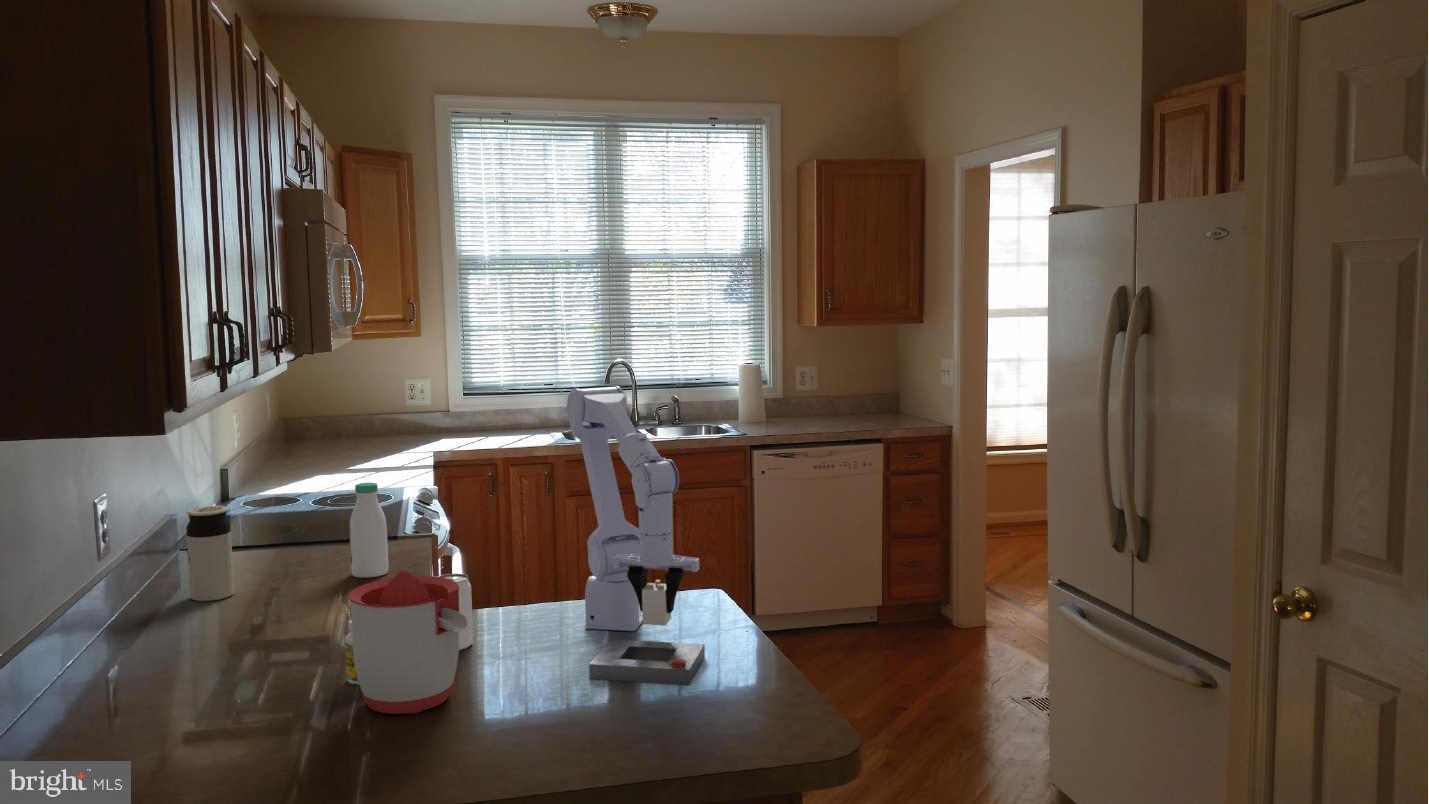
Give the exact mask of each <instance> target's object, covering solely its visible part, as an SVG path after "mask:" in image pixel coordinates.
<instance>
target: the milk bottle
mask: <svg viewBox="0 0 1429 804" xmlns="http://www.w3.org/2000/svg"><path fill="white" fill-rule="evenodd" d="M378 489H379V488H378V483H376V482H360V483H357V484H355V486H354V491H355V495H356V501H355V505H354V507H353V510H352V512H351V514H350V520H349V545H350V548H349V549H350V567H351V574H352V577H354V578H358V579H359V578H361V579H365V578H367V579H368V578H376V577H381V576H384V575H386V574H388V572H389V547H388V545H389V544H388V528H387V519H386V515H385V512H384V510H383V508H382V507H381V505H380V503H379V500H378V495H377V494H378Z"/></svg>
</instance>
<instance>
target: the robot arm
mask: <svg viewBox="0 0 1429 804" xmlns="http://www.w3.org/2000/svg"><path fill="white" fill-rule="evenodd" d="M566 400H567V403H566V413H567V418H568V422H569V427H570V430H571V433H572V437H574V438H576V439H578V440H579V442H580V446H581V449H582V450H581V451H582V456H583V459H584V464H585V465H584V466H585V468H586V469H585V470H586V474H587V479H588V483H589V488H590V492H591V498H592V501H593V506H594V511H595V515H596V520H597V525H598V526H597V527H596V529H595V530H594V531H593V532H592V533H591V535H589V537H588V538H587V541H586V544H587V552H588V553H587V562H588V567H589V570H590V572H591V573H592V575H590V576H589V577H588V579H587V581H586V584H585V592H584V602H585V603H584V606H585V607H584V608H585V625H584V629H587V630H588V629H589V630H604V631H605V630H607V631H609V630H610V631H626V632H627V631H628V632H635V631H637V629H638V628H639V627H640V626H641V624H643V617H642V615H641V614H640V612H642V589H643V588H644V587H645V586H646V585H647V584H648V572H649V569H650V570H667V572H666V573H665V574H664V579H665V580H664V581H665V584H666V588H667V613H671V614H672V612H673V611H674V609H675V601H676V596H677V593H678V591H679V587H680V584H681V582H682V580H683V578H684V575H685V573H686V571H688V572H689V571H690V572H692V573H697V572H698V571H699V570H700V558H699V557H692V556H685V555H683V556H682V555H678V554H677V555H676V554H674V526H673V525H674V524H673V522H674V521H673V517H674V516H673V515H674V514H673V513H674V512H673V509H674V508H673V507H674V505H673V494H676V492H677V491H678V489H679V484H680V475H679V474H680V473H679V470H678V468H677V466H676V464H675V462H674V461H673V460H672V459H667V458H666V457H662V456H661V455H660V454H659V452H658V451H657V449H656V448H655V446H654V445H653V443H652V442H651V441H650V439H649V438H648V436H647V435H646V434H644V433H642V432H638V431H637V430H636V428H635V426H634V424H633V423H632V421H631V419H630V416H629V415H628V413H627V408H628V407H627V397H626V393H625V391H624V390H623V388H621V387H620V386H618V385H613V386H607V387H605V386H604V387H592V388H591V387H590V388H572V389H571V390H570V392H569V394H568V396H567V399H566ZM611 436H613V437H614V438H615V440H616V441H617V442H618V443H619V445H618V450H617V451H618V455H619V456H620V458H621V460H622V462H623V463H624V464H625V466H626V467H627V469H628V470H629V472H630V474H631V475H632V476H631V484H632V485H631V486H632V488H633V492H634V497H635V499H634V500H635V502H634V503H635V505H636V506H637V507H638V527H637V526H635V525H633V524H632V523H630V522H629V521H627V520H626V518H625V513H624V508H623V505H622V498H621V494H620V490H619V487H618V485H619V484H618V482H617V477H616V472H615V468H614V463H613V460H612V454H611V451H610V447H609V446H610V445H609V442H608V440H609V438H610V437H611Z"/></svg>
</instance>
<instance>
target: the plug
mask: <svg viewBox="0 0 1429 804" xmlns="http://www.w3.org/2000/svg"><path fill="white" fill-rule="evenodd" d="M661 582H662V581H661V579H656V580H655V581H654V582H647V585H646V586H645V587H644V588H643V589H642V611H641V612H642V617H643V622H642V625H649V626H650V625H651V626H667V624H668V623H669V622H670V620H671V619H672V612H671V613H667V588H666V583H661Z"/></svg>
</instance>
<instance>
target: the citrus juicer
mask: <svg viewBox="0 0 1429 804" xmlns="http://www.w3.org/2000/svg"><path fill="white" fill-rule="evenodd" d="M348 601H350V612H351V613H350V614H351V619H352V640H353V656H354V665H355V670H356V674H357V678H358V681H359V684H360V685H359V687H360V690H361V694H362V696H363V698H364V700H365V702H366V704H367V706H368V707H369V708H370V709H371V710H373V711H375V712H379V713H383V714H389V715H390V714H391V715H398V714H399V715H402V714H410V715H417V714H420V713H422V712H423V711H426V710H430V709H432V708H434V707H437V706H440V705H441V704H442V703H444V702H445V701H446V700H447V699H449V696H450V693H451V691H452V689H453V686H454V683H455V676H456V673H457V667H458V662H459V661H458V660H459V654H460V652H459V632H460V631H462V630H464V629H465V628H466V627H467V619H466V617H465V616H464V615H463V614H461V613H459V585H458V584H457V583H456V582H455V581H453V580H450V579H447V578H442V577H438V576H429V575H428V576H427V575H426V576H425V575H414V574H413V573H412V572H410V571H408V570H407V569H401V570H400V571H399V572H398V573H397V574H395V575H394V576H393V577H392V578H385V579H380V580H377V581H376V580H375V581H371V582H369V583H366V584H363V585H359V586H357V587H355V588H354V589H353V590H351V591H350V592H349V594H348ZM351 619H350V620H351ZM419 712H420V713H419ZM416 713H417V714H416Z"/></svg>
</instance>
